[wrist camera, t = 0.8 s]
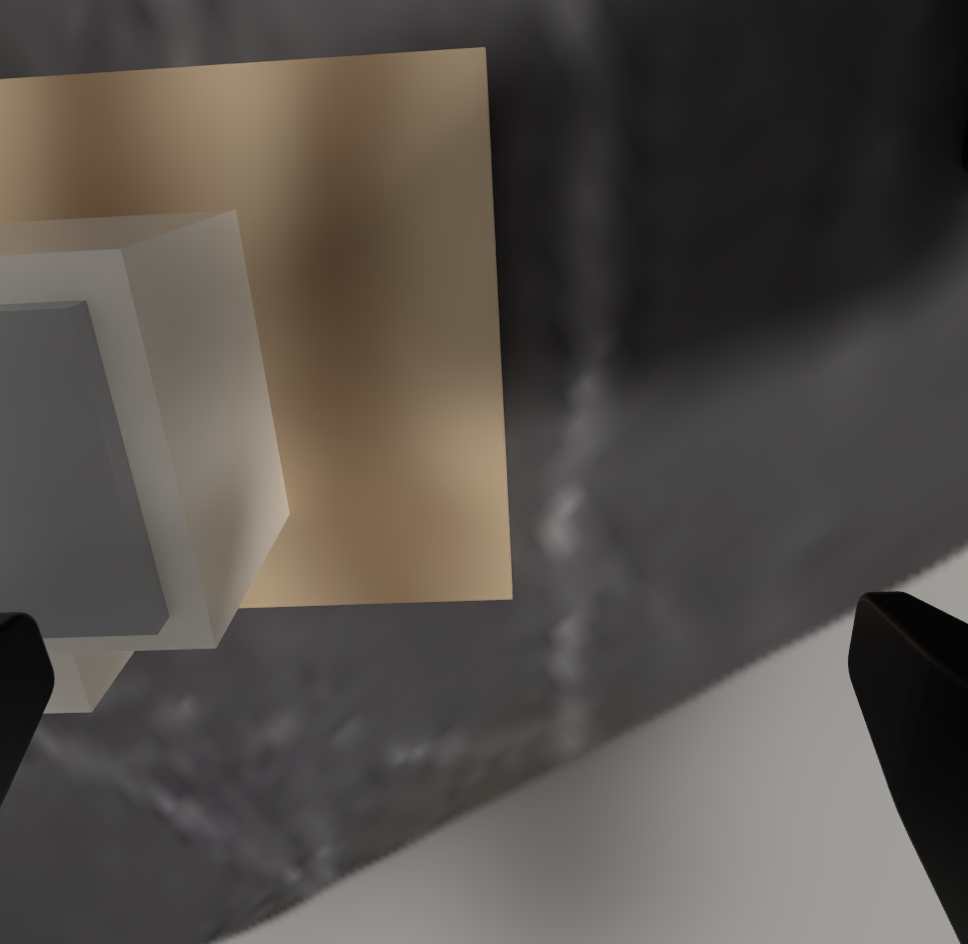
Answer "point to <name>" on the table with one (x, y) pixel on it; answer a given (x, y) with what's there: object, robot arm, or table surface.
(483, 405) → the serving board
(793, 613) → the table surface
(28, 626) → the robot arm
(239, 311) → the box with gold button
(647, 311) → the table surface
